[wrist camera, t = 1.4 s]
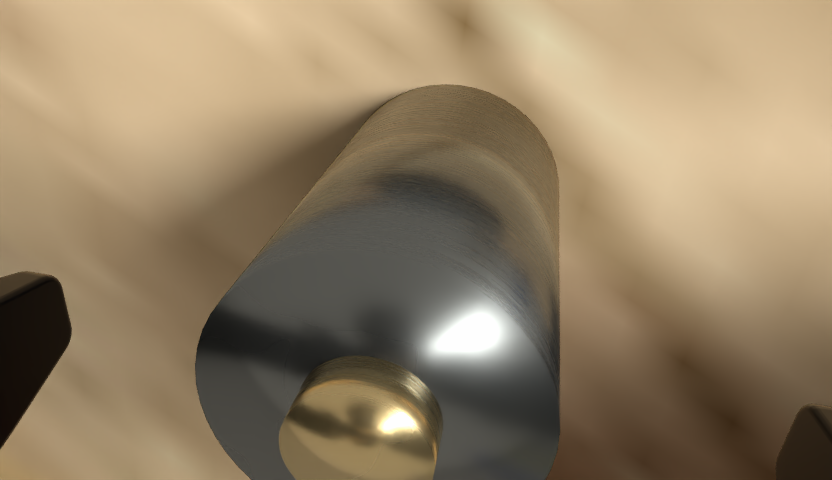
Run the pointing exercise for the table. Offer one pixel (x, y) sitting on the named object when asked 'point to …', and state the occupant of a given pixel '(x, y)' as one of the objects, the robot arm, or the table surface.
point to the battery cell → (401, 308)
